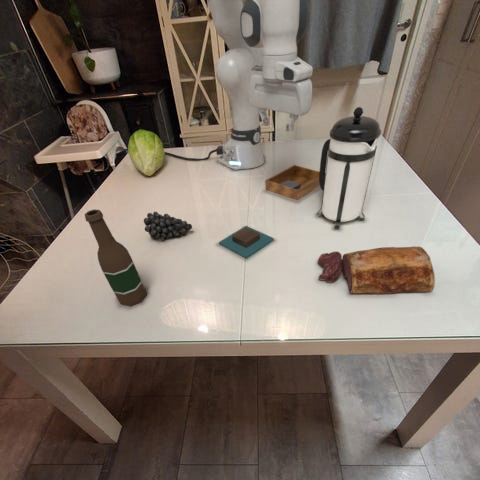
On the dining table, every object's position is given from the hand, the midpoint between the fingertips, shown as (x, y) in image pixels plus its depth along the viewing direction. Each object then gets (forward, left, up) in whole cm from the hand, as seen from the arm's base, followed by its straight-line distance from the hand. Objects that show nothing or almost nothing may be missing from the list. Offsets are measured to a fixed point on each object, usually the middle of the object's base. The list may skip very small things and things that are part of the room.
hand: (277, 128), depth 88 cm
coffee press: (+20, +6, -24) cm, 32 cm away
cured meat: (+42, -14, -24) cm, 51 cm away
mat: (+7, -23, -24) cm, 34 cm away
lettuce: (-71, -8, -24) cm, 76 cm away
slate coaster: (-4, +11, -24) cm, 26 cm away
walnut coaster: (+7, -23, -23) cm, 34 cm away
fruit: (-15, -36, -24) cm, 46 cm away
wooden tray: (-4, +15, -24) cm, 29 cm away
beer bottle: (+1, -60, -24) cm, 65 cm away
